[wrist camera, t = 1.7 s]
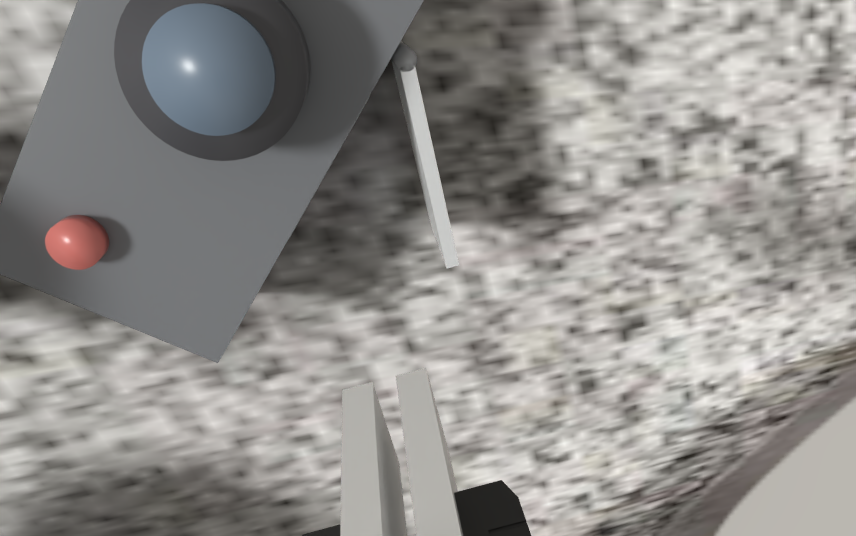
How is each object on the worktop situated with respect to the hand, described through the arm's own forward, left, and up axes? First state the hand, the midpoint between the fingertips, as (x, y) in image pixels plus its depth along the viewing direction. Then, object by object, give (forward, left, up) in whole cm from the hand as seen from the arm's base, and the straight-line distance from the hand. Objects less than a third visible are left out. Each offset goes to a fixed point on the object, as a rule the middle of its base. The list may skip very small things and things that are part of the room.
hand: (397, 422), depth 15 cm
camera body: (+1, +8, -18) cm, 20 cm away
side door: (+4, 0, -18) cm, 18 cm away
